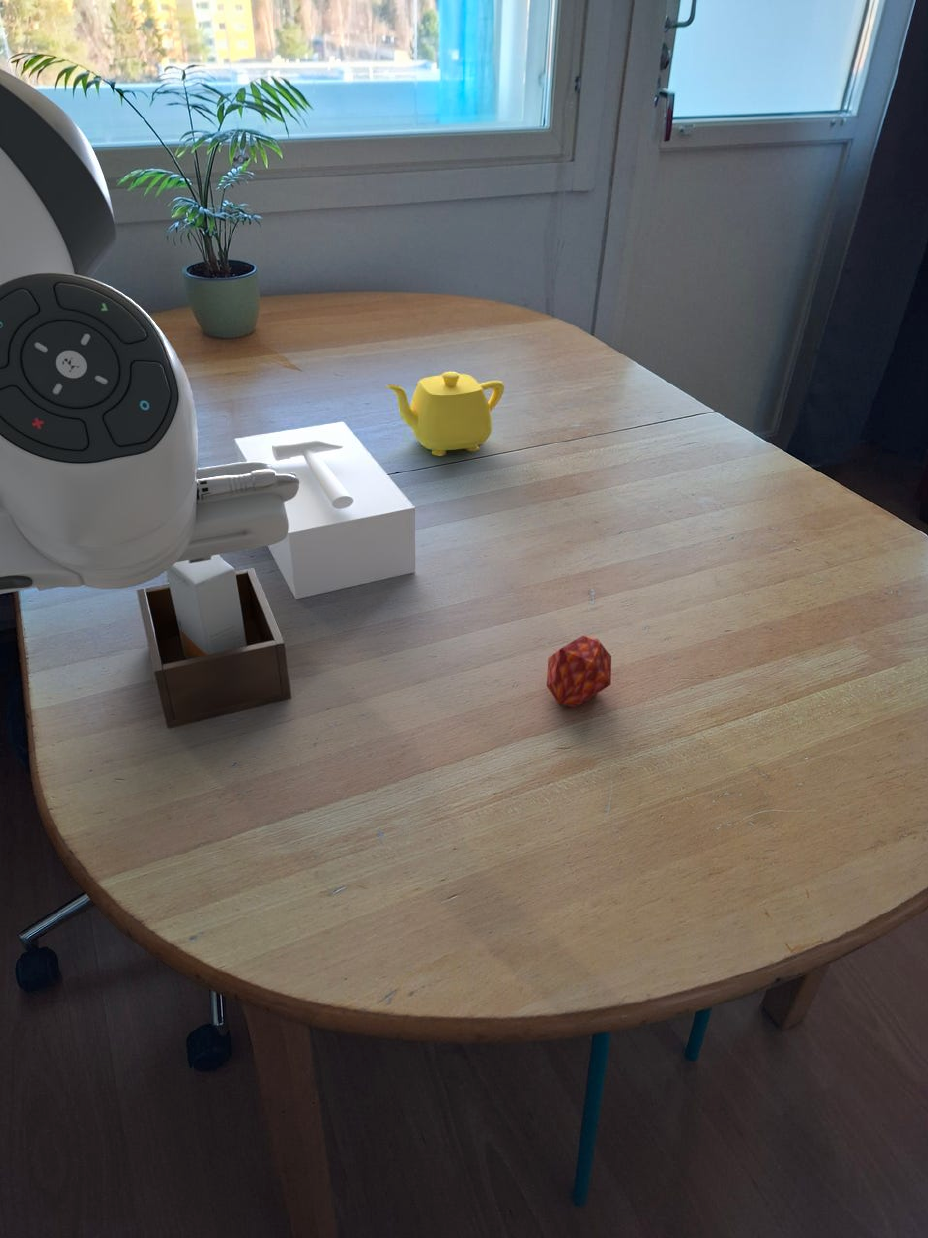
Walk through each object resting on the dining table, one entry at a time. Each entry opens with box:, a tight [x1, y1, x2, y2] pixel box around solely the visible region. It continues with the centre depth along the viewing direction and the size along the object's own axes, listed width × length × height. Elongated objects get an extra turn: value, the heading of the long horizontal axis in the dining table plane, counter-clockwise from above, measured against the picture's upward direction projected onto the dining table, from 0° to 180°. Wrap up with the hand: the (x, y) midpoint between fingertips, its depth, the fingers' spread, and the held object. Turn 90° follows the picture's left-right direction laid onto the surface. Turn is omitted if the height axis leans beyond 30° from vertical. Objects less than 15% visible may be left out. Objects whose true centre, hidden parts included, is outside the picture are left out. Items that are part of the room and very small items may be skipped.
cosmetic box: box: [166, 554, 247, 659], centre depth 83 cm, size 6×4×12 cm
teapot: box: [385, 371, 505, 457], centre depth 128 cm, size 18×11×11 cm, turn 110°
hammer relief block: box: [233, 421, 416, 600], centre depth 106 cm, size 14×25×11 cm, turn 25°
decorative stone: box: [546, 635, 612, 708], centre depth 84 cm, size 6×7×8 cm
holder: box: [136, 567, 292, 729], centre depth 85 cm, size 12×14×7 cm
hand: (125, 563), depth 58 cm, fingers open, 8 cm apart
